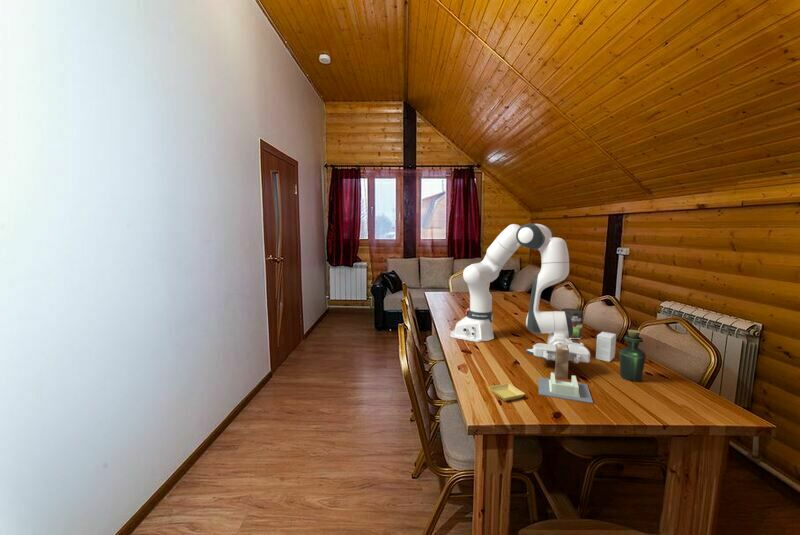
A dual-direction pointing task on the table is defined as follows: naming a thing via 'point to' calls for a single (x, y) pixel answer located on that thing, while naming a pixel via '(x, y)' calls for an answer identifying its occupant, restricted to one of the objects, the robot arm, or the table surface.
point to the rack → (564, 387)
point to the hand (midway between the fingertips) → (562, 359)
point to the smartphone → (530, 351)
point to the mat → (545, 391)
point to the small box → (605, 346)
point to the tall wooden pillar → (561, 361)
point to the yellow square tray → (506, 391)
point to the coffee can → (575, 322)
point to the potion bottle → (632, 357)
